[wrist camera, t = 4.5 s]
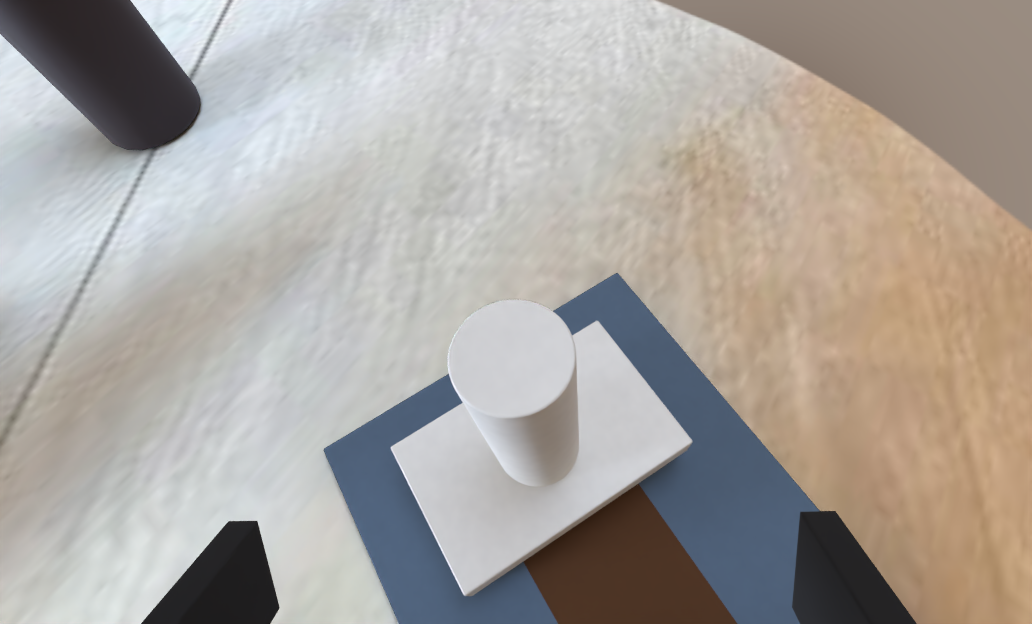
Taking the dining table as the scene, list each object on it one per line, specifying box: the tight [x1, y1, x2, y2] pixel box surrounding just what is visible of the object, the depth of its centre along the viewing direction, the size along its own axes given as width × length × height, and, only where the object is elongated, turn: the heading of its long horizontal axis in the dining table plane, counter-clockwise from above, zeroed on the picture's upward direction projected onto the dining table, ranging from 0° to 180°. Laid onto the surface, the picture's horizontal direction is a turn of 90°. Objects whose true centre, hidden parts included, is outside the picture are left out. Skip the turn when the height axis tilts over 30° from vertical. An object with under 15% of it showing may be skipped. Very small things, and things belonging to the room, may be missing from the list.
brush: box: [391, 299, 692, 596], centre depth 20 cm, size 7×11×12 cm, turn 121°
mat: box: [324, 273, 819, 624], centre depth 23 cm, size 24×17×1 cm
